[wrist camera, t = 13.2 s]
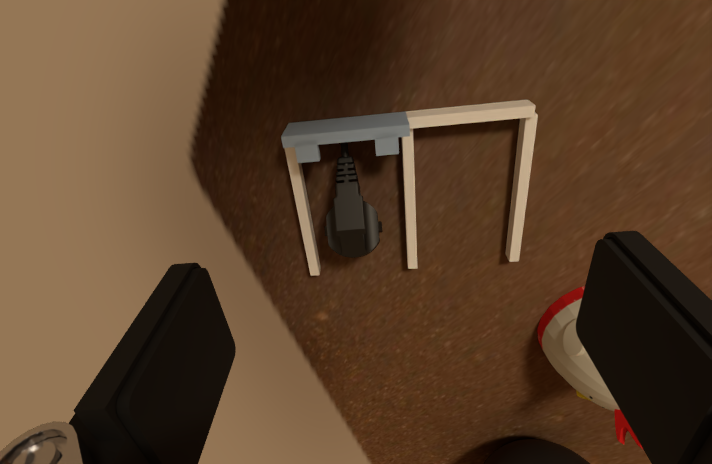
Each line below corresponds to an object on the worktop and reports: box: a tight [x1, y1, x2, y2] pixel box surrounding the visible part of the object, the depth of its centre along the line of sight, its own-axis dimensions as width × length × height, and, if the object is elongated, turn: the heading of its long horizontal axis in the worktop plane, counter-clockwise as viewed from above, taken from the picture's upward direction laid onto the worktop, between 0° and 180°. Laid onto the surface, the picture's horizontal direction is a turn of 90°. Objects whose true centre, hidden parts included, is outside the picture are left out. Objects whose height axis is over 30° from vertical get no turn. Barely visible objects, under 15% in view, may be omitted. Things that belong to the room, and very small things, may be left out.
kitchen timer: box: [537, 286, 644, 450], centre depth 45 cm, size 14×14×15 cm
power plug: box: [325, 142, 382, 257], centre depth 41 cm, size 6×8×12 cm
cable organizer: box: [281, 100, 538, 276], centre depth 40 cm, size 17×23×4 cm
